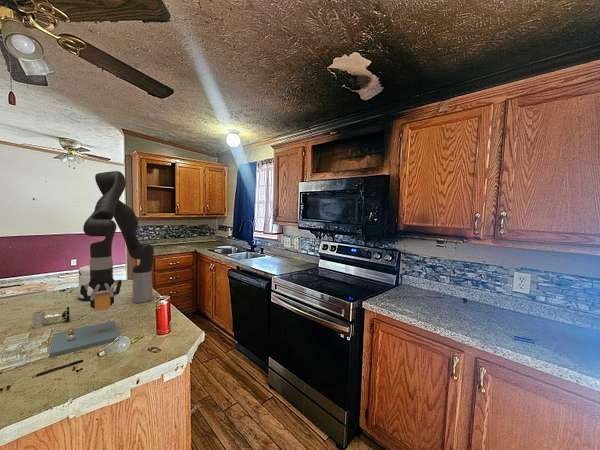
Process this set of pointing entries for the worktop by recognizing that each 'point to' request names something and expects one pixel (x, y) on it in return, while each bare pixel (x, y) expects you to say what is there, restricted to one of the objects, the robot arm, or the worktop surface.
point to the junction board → (83, 338)
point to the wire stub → (71, 335)
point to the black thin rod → (57, 368)
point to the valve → (47, 318)
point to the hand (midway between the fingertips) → (102, 306)
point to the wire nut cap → (102, 301)
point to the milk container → (87, 281)
